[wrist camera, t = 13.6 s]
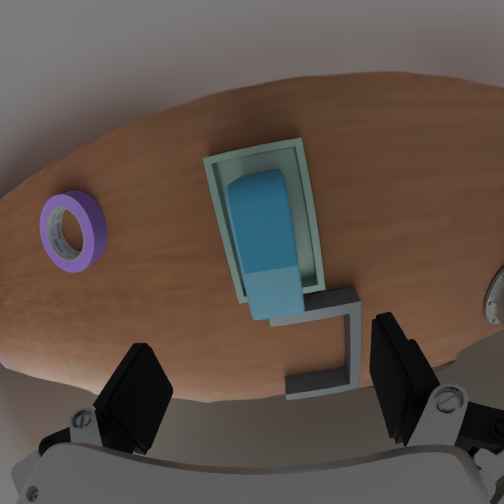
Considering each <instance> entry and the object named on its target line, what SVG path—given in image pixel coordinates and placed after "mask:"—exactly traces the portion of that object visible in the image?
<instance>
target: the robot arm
mask: <svg viewBox="0 0 504 504" xmlns="http://www.w3.org/2000/svg"><path fill="white" fill-rule="evenodd" d="M484 315H485V318H486V320H487V321H488V322H489V323H491V324H498V323H500V322H501V324H502V325H503V326H504V267H503V268H502V269H501V270H500V271H499V273H498V274H497V275H496V277H495V278H494V280H493V282H492V283H491V285H490V288H489V290H488V292H487V295H486V299H485V303H484ZM370 375H371V378H372V381H373V384H374V387H375V390H376V393H377V396H378V400H379V403H380V406H381V410H382V413H383V416H384V419H385V423H386V426H387V430H388V434H389V437H390V438H395V442H396V444H398V443H401V442H403V444H404V446H405V447H404V448H398V449H393V450H388V451H384V452H379V453H374V454H370V455H364V456H359V457H355V458H349V459H343V460H337V461H330V462H323V463H316V464H308V465H297V466H285V467H257V468H256V467H255V468H253V467H252V468H251V467H248V468H247V467H244V468H243V467H218V466H204V465H194V464H186V463H178V462H171V461H165V460H159V459H153V458H148V457H143V456H139V455H134V454H132V453H133V451H134V452H136V453H138V454H143V455H146V453H147V451H148V450H149V449H150V448H151V447H152V444H153V441H154V439H155V436H156V434H157V431H158V429H159V426H160V424H161V421H162V419H163V416H164V414H165V412H166V409H167V407H168V404H169V402H170V399H171V397H172V394H173V387H172V385H171V384H170V382H169V380H168V378H167V376H166V375H165V373H164V371H163V369H162V367H161V365H160V363H159V361H158V359H157V358H156V356H155V354H154V352H153V350H152V348H151V347H150V346H148V344H146V343H134V344H133V345H132V346H131V348H130V349H129V351H128V352H127V354H126V355H125V357H124V358H123V360H122V361H121V363H120V364H119V366H118V367H117V369H116V370H115V372H114V373H113V375H112V376H111V378H110V379H109V381H108V382H107V384H106V385H105V387H104V388H103V390H102V391H101V393H100V395H99V396H98V398H97V399H96V401H95V402H94V404H93V406H94V407H95V408H96V410H95V411H94V410H92V409H91V408H81V409H79V410H77V411H76V412H75V413H73V415H72V416H71V418H70V421H69V427H68V428H66V429H63V430H61V431H59V432H56V433H54V434H51V435H49V436H47V437H45V438H44V439H43V440H42V441H41V443H40V445H39V451H38V450H35V451H34V452H32V453H31V454H30V455H28V456H27V457H25V458H24V459H23V460H21V461H20V462H19V463H17V464H16V465H15V466H14V467H13V469H12V472H11V475H12V479H13V481H14V484H15V486H16V489H17V491H18V494H19V498H18V500H17V502H16V504H504V410H499V409H495V408H491V407H488V406H483V405H480V404H476V403H473V402H469V401H468V395H467V393H466V391H465V390H464V389H463V388H462V387H461V386H459V385H456V384H451V383H447V384H443V385H440V383H439V381H438V379H437V377H436V375H435V374H434V372H433V370H432V368H431V366H430V365H429V363H428V361H427V359H426V358H425V356H424V354H423V353H422V351H421V349H420V347H419V346H418V344H417V342H416V341H415V340H414V339H410V340H407V338H406V336H405V335H404V333H403V331H402V329H401V328H400V326H399V324H398V323H397V321H396V319H395V318H394V316H393V315H392V313H391V312H387V313H382V314H378V315H377V316H376V319H373V320H372V334H371V353H370ZM480 469H484V470H485V471H486V472H488V473H489V474H488V476H489V477H490V478H492V479H493V481H494V482H495V484H496V489H495V494H494V495H493V497H492V498H491V500H490V499H489V496H488V492H487V489H486V486H485V483H484V481H483V478H482V476H481V474H480V471H479V470H480Z"/></svg>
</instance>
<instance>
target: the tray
mask: <svg viewBox="0 0 504 504" xmlns="http://www.w3.org/2000/svg"><path fill="white" fill-rule="evenodd" d="M203 162H204V167H205V171H206V175H207V179H208V183H209V188H210V192H211V196H212V200H213V204H214V208H215V212H216V216H217V220H218V224H219V228H220V232H221V236H222V240H223V244H224V248H225V252H226V256H227V260H228V263H229V267H230V271H231V275H232V279H233V282H234V286H235V290H236V293H237V297H238V301H239V303H246V302H248V299H247V295H246V290H245V286H244V282H243V278H242V273H241V269H240V265H239V260H238V256H237V252H236V247H235V243H234V239H233V234H232V230H231V225H230V221H229V216H228V212H227V207H226V201H225V188H226V186H227V185H228V184H230V183H231V182H233V181H234V180H236V179H238V178H239V177H241V176H244V175H249V174H255V173H260V172H266V171H271V170H277V169H280V170H281V172H282V174H283V176H284V179H285V183H286V188H287V194H288V199H289V205H290V211H291V217H292V223H293V229H294V236H295V242H296V249H297V255H298V262H299V269H300V276H301V284H302V291H303V294H304V293H309V292H315V291H321V290H325V282H324V273H323V264H322V256H321V249H320V241H319V234H318V227H317V221H316V214H315V208H314V202H313V196H312V190H311V184H310V179H309V173H308V168H307V163H306V158H305V153H304V148H303V143H302V138H296V139H290V140H284V141H279V142H273V143H268V144H263V145H258V146H253V147H248V148H244V149H239V150H235V151H230V152H226V153H222V154H218V155H214V156H210V157H206V158H203Z"/></svg>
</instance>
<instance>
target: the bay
mask: <svg viewBox="0 0 504 504" xmlns="http://www.w3.org/2000/svg"><path fill="white" fill-rule="evenodd" d="M303 299H304V307H305V312H304V313H303V314H299V315H292V316H285V317H278V318H270V319H269V322H270V327H275V326H281V325H288V324H295V323H301V322H307V321H313V320H319V319H324V318H330V317H335V316H340V315H344V322H345V367H342V368H337V369H332V370H327V371H321V372H315V373H309V374H302V375H295V376H287V377H285V392H286V398H287V400H292V399H300V398H307V397H314V396H320V395H326V394H331V393H337V392H342V391H347V390H352V389H357V388H359V379H360V361H361V300H360V298H359V296H358V294H357V292H356V290H355V289H354V287H353V286H351V287H346V288H341V289H336V290H330V291H325V292H319V293H314V294H308V295H303Z"/></svg>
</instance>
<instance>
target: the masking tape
mask: <svg viewBox="0 0 504 504" xmlns="http://www.w3.org/2000/svg"><path fill="white" fill-rule="evenodd" d="M65 209H67V210H69V211H70V212H71V213H72V214H73V215H74V216H75V217H76V219H77V220H78V222H79V224H80V226H81V229H82V234H83V247H82V251H81V252H80V251H77V250H75V249H73V248H72V247H71V246H70V245H69V244H68V242H67V241H66V239H65V237H64V234H63V231H62V216H63V213H64V211H65ZM40 234H41V239H42V242H43V245H44V248H45V250H46V252H47V254H48V255H49V257H50V258H51V260H52V261H53V262H54V263H55V264H56V265H57V266H58V267H60V268H61V269H63V270H65V271H67V272H72V273H75V272H80V271H82V270H84V269H85V268H87V267H88V266H89V265H91V264H92V263H94V262H95V261H97V260H98V259H99V258H100V257H101V255H102V254H103V252H104V250H105V247H106V243H107V227H106V222H105V218H104V216H103V213H102V211H101V209H100V207H99V206H98V204H97V203H96V201H95V200H94V199H93V198H92V197H91V196H90V195H88V194H87V193H85V192H82V191H77V190H73V191H69V192H65V193H62V194H58V195H55V196H53V197H51V198H50V199H49V200H48V201H47V202H46V204H45V206H44V207H43V210H42V213H41V217H40Z"/></svg>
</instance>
